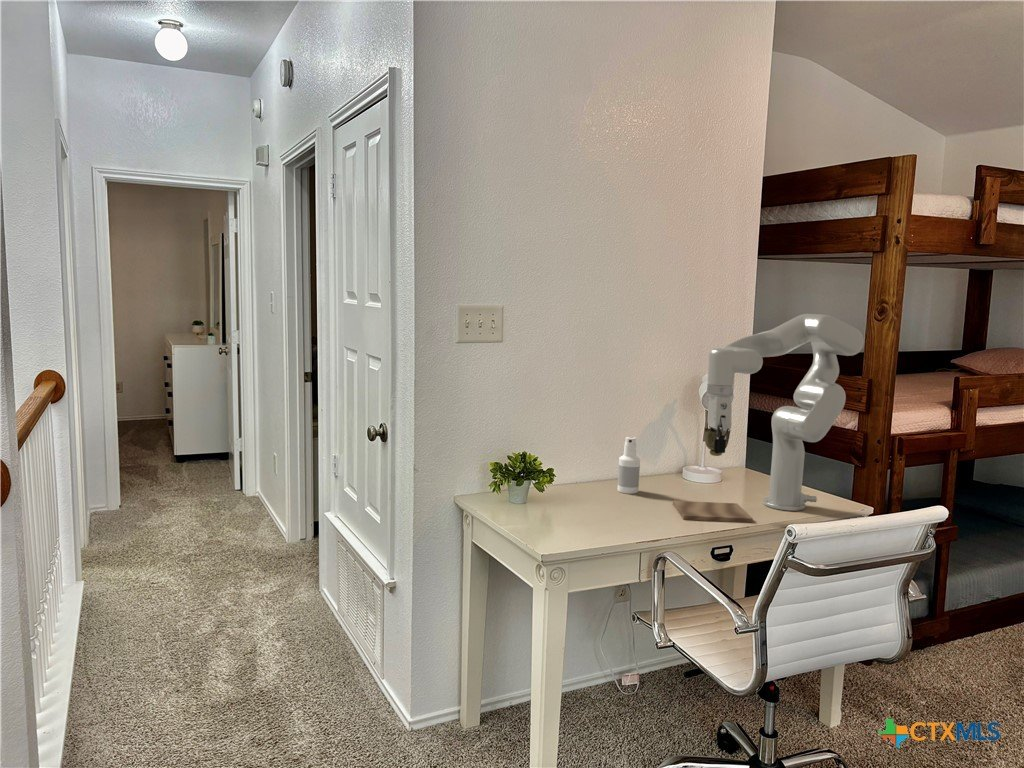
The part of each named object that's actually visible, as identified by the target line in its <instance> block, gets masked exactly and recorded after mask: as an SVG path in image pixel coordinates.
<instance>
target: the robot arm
mask: <svg viewBox="0 0 1024 768" xmlns="http://www.w3.org/2000/svg"><path fill="white" fill-rule="evenodd" d="M864 342H865V339H864V336H863V334H862V332H861V331H860V330H859V329H857V328H856V327H854V326H852V325H850V324H848V323H846V322H844V321H842V320H841V319H839V318H836V317H833V316H832V315H828V314H823V313H822V314H820V313H819V314H818V313H817V314H816V313H804V314H799V315H798V316H795V317H794V318H792V319H791V318H790V319H789V320H787V321H786V322H784V323H782V324H780V325H778V326H776V327H774V328H772V329H770V330H765V331H760V332H759V333H755V334H752V335H747V336H745V337H742V338H739V339H737V340H735V341H733V342H731V343H729V344H727V345H725V346H724V347H722V348H719V347H718V348H712V349H710V351H709V355H708V356H709V357H708V368H707V370H708V371H707V385H706V396H709V397H708V407H707V425H708V428H709V429H711V430H712V428H713V429H715V431H716V439H715V441H714V452H715V453H722V454H725V453H726V448H727V447H726V434H727V433H726V431H727V430H728V431H729V430H731V429H732V407H733V406H732V405H733V404H732V398H733V397H734V386H735V374H736V373H737V374H744V375H752V374H755V373H758V372H759V371H760V370H761V369H762V366H763V363H764V360H763V358H770V357H779V356H783V355H784V356H785V355H786V354H788V353H790V352H792V351H793V350H795V349H798V348H799V347H801V346H803V345H805V344H807V343H811V349H812V355H813V359H812V364H811V366H810V367H809V369H808V371H807V373H806V374H805V375H804V377H803V379H801V381H800V382H799V384H798V385H797V387H796V389H795V390H794V393H793V396H792V397H793V401H794V404H796V405H797V406H798V407H797V406H791V405H783V406H780V407H778V408H777V409H775V411H774V412H773V414H772V416H771V432H772V452H771V453H772V455H771V468H770V478H769V490H768V492H769V493H768V496H767V497H764V498H763V501H762V504H764V505H765V506H766V507H768V508H772V509H776V510H780V511H781V510H782V511H792V512H793V511H796V512H797V511H803V510H805V509H806V503H807V502H809V503H817V500H818V499H817V495H810V494H805V493H803V491H802V488H803V478H804V466H805V455H806V451H805V445H804V442H807V443H817V442H819V441H821V440H822V439H823V438H824V437H826V435H827V433H828V432H829V431H830V429H831V427H832V426H833V425H834V424H835V421H837V419H838V417H839V415H840V414H841V412H842V411H843V409H844V407H845V404H846V400H847V396H846V391H845V390H844V387H842V386H841V385H840V384H838V383H836V381H837V380H838V377H839V374H840V365H839V361H838V357H837V356H838V355H839V356H846V357H849V356H851V357H852V356H855V355H857V354H859V353H860V352H861V350H862V349H863V347H864V344H865V343H864ZM719 428H720V429H719ZM718 431H720V432H719V434H718ZM803 441H804V442H803ZM725 447H726V448H725Z"/></svg>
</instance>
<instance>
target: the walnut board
mask: <svg viewBox="0 0 1024 768" xmlns="http://www.w3.org/2000/svg"><path fill="white" fill-rule="evenodd" d="M672 506H673V508H675V511H677V513H678V514H679V515H680V517H681V518H682V519H683V521H684V520H685V521H705V522H706V521H707V522H726V523H729V522H730V523H731V522H732V523H733V522H734V523H753V522H754V521H753V520H754V518H753V517H752V516H751V515H750V514H749V513H748V512H747V511H746V510H745V509H744V508H743V507H742V506H740V504H739V503H736V502H735V503H733V502H712V501H711V502H708V501H691V500H690V501H686V500H672Z"/></svg>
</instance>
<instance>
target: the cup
mask: <svg viewBox="0 0 1024 768" xmlns="http://www.w3.org/2000/svg"><path fill="white" fill-rule="evenodd" d="M719 429H721V428H719ZM731 431H732V430H731V429H730V430H727V431H726V433H727V434H726V447H725V449H727V447H728V444H729V440H730V435H731ZM719 432H720V431H718V434H719ZM715 439H716V431H715V429H713V428H712V430H711V429H709V426H707V427H704V442H705V445H706V447H707V448H708V450H709V455H711V456H714V457H720V456H722V455H723V453H715V452H714V441H715Z"/></svg>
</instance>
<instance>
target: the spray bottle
mask: <svg viewBox="0 0 1024 768" xmlns="http://www.w3.org/2000/svg"><path fill="white" fill-rule="evenodd" d="M640 466H641V459H640V457H638V456H637V437H628V436H626V437H625V441H624V449H623V455H621V456H619V458H618V474H617V489H616V490H617V491H618V492H619V493H622V494H626V495H627V494H628V495H633V494H638V493H639V486H640V484H639V483H640V468H641V467H640Z"/></svg>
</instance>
